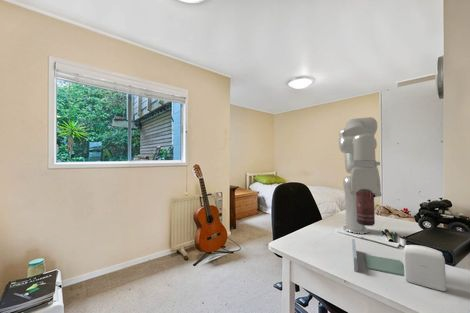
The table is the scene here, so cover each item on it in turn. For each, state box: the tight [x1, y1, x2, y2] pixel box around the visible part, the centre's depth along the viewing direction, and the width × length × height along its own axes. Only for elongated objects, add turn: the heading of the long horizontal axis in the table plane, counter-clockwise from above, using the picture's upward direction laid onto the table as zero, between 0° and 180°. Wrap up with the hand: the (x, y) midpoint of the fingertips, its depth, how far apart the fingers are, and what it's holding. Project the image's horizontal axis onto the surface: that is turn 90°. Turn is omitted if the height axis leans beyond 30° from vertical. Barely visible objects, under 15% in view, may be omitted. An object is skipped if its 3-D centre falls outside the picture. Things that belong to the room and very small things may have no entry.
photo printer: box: [402, 244, 447, 292], centre depth 68 cm, size 10×4×12 cm, turn 49°
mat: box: [364, 254, 404, 277], centre depth 81 cm, size 12×12×1 cm
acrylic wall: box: [351, 238, 359, 273], centre depth 85 cm, size 20×1×5 cm, turn 152°
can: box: [356, 190, 376, 227], centre depth 83 cm, size 6×6×14 cm
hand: (365, 210), depth 84 cm, fingers closed
